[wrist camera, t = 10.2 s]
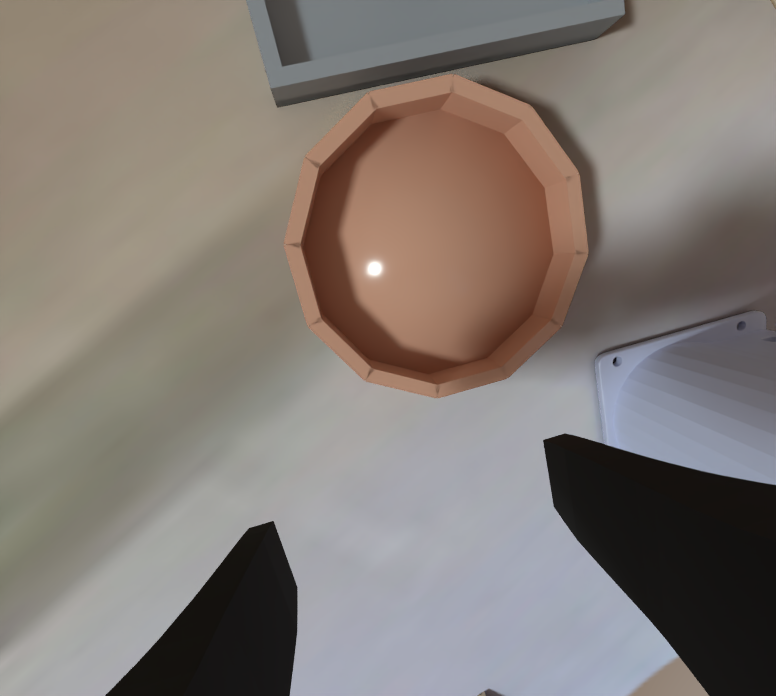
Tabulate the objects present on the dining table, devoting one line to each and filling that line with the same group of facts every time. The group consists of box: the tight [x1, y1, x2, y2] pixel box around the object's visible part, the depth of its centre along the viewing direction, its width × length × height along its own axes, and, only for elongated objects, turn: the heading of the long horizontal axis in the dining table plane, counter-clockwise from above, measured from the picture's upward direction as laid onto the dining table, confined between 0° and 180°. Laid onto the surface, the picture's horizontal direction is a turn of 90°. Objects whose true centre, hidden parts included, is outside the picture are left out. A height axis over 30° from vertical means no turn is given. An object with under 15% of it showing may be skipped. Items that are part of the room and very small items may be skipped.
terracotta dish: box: [284, 74, 589, 398], centre depth 17 cm, size 12×12×2 cm
